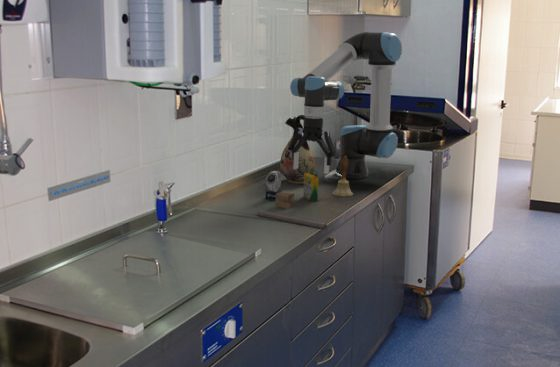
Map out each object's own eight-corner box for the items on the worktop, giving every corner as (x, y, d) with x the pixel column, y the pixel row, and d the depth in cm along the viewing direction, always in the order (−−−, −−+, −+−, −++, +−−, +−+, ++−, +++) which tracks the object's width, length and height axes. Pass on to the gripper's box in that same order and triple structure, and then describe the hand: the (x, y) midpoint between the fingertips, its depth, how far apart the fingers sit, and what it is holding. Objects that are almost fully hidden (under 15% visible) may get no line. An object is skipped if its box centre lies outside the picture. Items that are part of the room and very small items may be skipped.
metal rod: (260, 215, 240) (260, 210, 239) (326, 228, 226) (326, 223, 226) (257, 216, 238) (257, 211, 238) (323, 230, 224) (323, 224, 224)
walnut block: (282, 203, 255) (282, 191, 253) (293, 206, 252) (294, 193, 251) (275, 206, 250) (275, 193, 249) (287, 208, 248) (287, 196, 247)
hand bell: (341, 190, 277) (343, 153, 273) (357, 194, 271) (359, 156, 268) (328, 193, 271) (330, 155, 268) (344, 197, 266) (345, 158, 262)
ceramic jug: (272, 181, 289) (273, 113, 282) (294, 176, 301) (296, 110, 294) (302, 188, 279) (304, 117, 272) (324, 182, 290) (327, 114, 283)
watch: (263, 199, 259) (263, 172, 257) (272, 195, 266) (272, 168, 264) (275, 201, 257) (276, 174, 254) (284, 197, 264) (285, 170, 261)
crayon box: (302, 197, 265) (303, 168, 262) (309, 196, 266) (310, 168, 263) (311, 201, 259) (312, 172, 256) (318, 201, 260) (319, 172, 257)
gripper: (280, 114, 258) (278, 168, 262) (338, 121, 245) (335, 177, 250) (290, 113, 264) (288, 165, 269) (346, 119, 252) (343, 173, 256)
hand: (310, 171), depth 259 cm, fingers open, 13 cm apart
